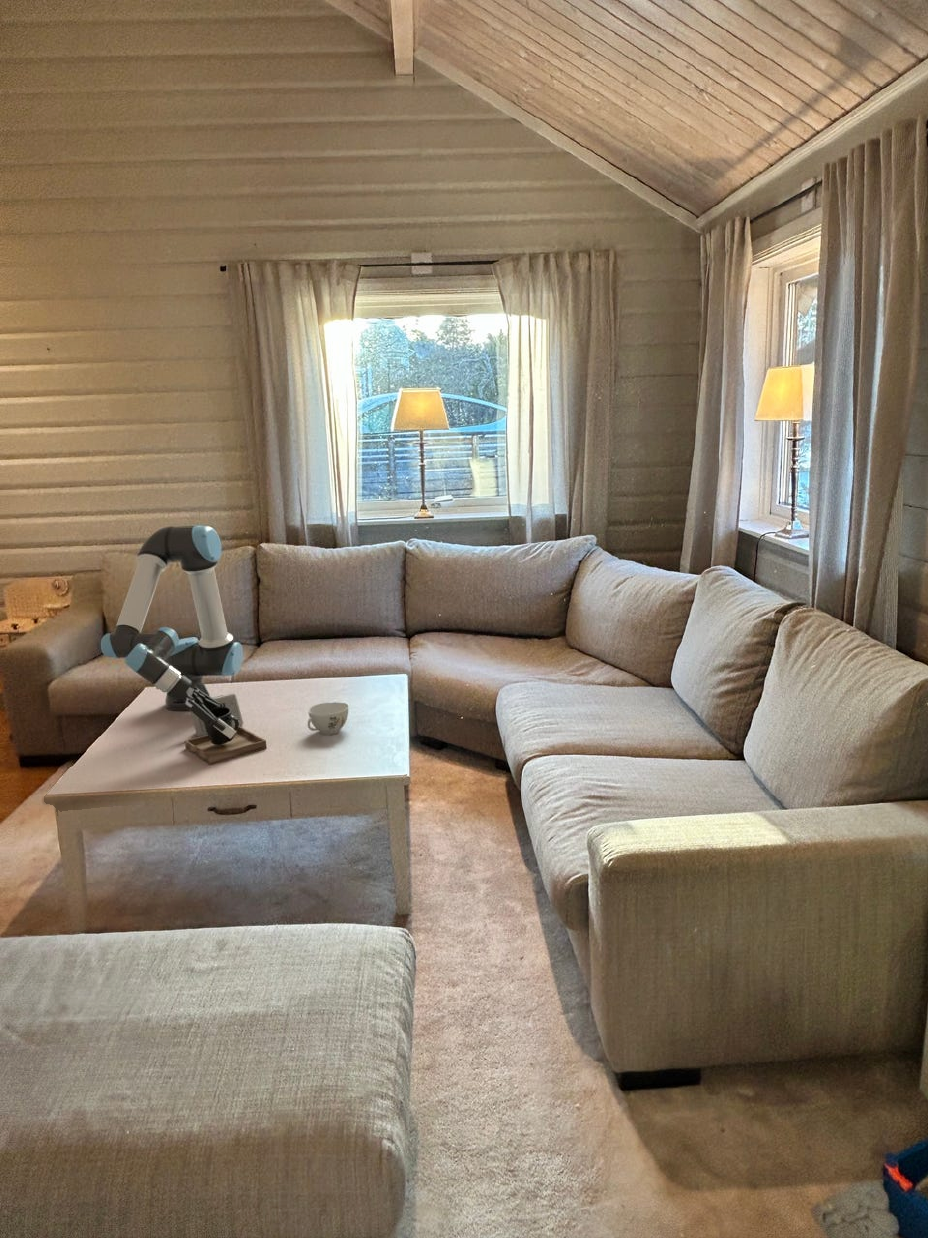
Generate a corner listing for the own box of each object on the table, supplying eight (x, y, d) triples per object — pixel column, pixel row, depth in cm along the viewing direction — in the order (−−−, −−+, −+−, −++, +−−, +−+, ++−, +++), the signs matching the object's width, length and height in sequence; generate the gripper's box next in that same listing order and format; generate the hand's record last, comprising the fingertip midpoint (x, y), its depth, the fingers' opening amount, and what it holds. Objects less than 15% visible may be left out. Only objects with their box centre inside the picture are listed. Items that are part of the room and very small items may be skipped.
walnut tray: (185, 748, 271) (184, 741, 270) (240, 733, 282) (239, 726, 281) (210, 764, 257) (209, 756, 257) (266, 748, 268) (265, 740, 268)
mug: (229, 751, 263) (226, 722, 260) (200, 743, 269) (196, 714, 266) (249, 740, 269) (245, 712, 266) (220, 732, 275) (216, 704, 272)
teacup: (332, 722, 288) (330, 698, 286) (358, 729, 280) (356, 705, 278) (295, 736, 277) (293, 711, 275) (322, 744, 269) (320, 719, 267)
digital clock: (196, 739, 278) (192, 707, 276) (189, 731, 286) (185, 700, 284) (247, 728, 286) (243, 697, 284) (239, 721, 294) (235, 690, 291)
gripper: (171, 682, 273) (230, 726, 279) (159, 704, 253) (223, 751, 259) (187, 664, 273) (245, 709, 279) (176, 685, 252) (239, 732, 258)
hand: (234, 729), depth 269 cm, fingers closed on mug, 9 cm apart
